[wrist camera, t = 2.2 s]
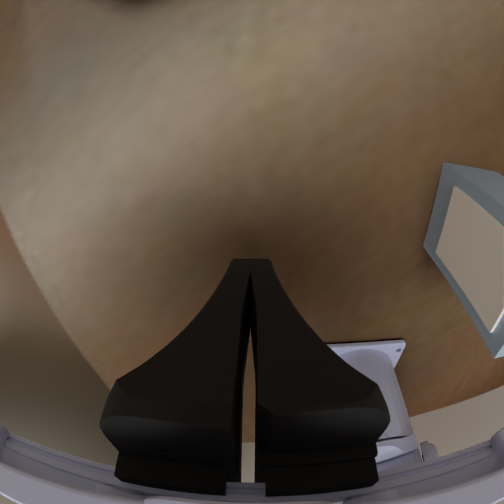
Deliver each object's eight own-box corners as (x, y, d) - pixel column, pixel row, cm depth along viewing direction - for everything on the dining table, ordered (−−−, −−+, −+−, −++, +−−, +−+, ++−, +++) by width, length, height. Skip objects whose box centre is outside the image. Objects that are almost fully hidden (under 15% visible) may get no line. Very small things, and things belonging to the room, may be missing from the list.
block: (475, 247, 19) (547, 343, 11) (419, 246, 20) (490, 359, 11) (497, 172, 16) (597, 252, 8) (440, 161, 16) (549, 251, 8)
